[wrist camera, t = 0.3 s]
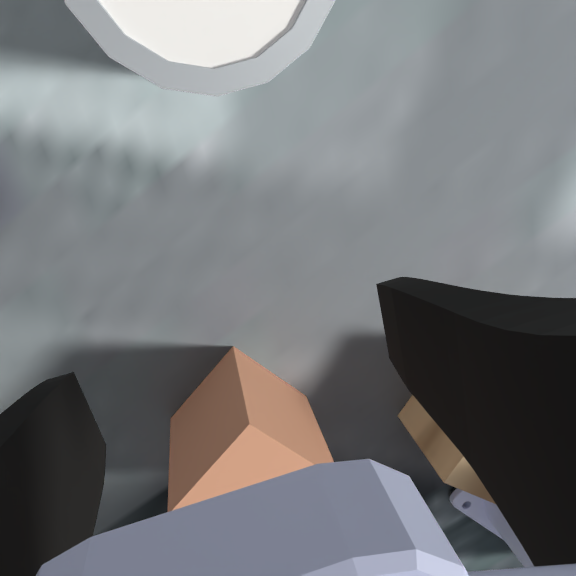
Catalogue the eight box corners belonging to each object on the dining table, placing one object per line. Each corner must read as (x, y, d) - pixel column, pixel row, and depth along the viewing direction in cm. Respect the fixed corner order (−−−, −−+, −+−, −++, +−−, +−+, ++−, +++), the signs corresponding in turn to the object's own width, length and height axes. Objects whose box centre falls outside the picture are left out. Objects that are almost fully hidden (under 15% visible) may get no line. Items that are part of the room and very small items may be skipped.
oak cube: (523, 373, 27) (595, 429, 22) (468, 447, 28) (525, 516, 23) (453, 334, 25) (515, 387, 20) (396, 414, 26) (443, 482, 21)
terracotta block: (306, 395, 24) (342, 481, 19) (245, 461, 25) (264, 564, 19) (233, 345, 23) (249, 424, 17) (170, 417, 23) (167, 515, 18)
